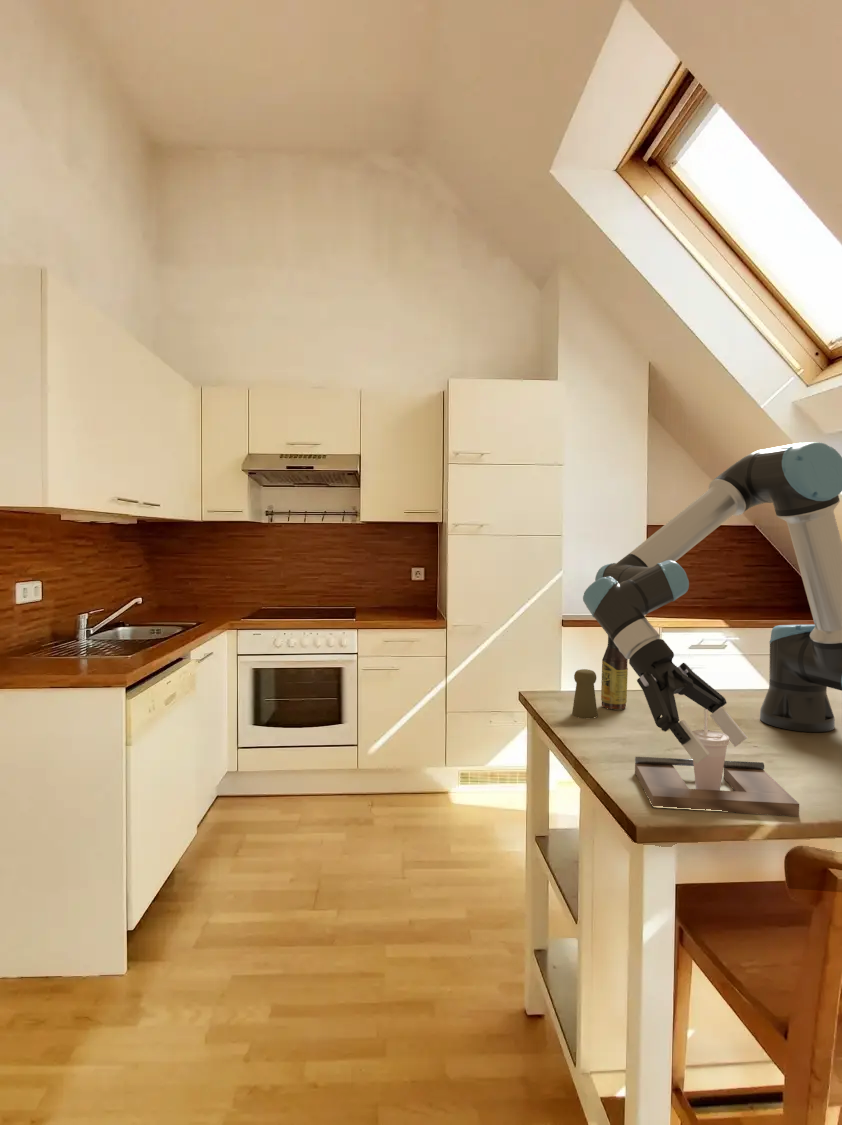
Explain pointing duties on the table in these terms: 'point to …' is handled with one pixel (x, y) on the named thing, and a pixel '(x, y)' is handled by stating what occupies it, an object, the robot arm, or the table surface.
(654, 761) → the hook bar
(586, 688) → the cork
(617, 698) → the sauce bottle
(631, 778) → the table surface
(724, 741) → the smoothie
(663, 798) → the slot board
